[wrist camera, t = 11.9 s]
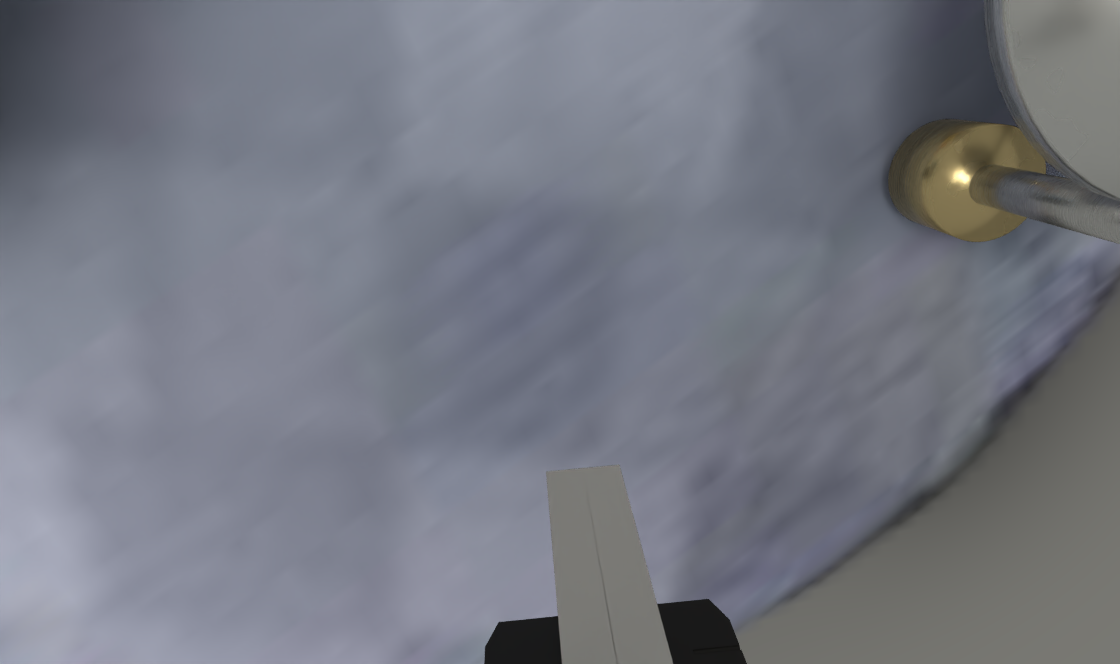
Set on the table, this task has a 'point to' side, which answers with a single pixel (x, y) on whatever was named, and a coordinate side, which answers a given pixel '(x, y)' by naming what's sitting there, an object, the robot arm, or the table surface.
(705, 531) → the table surface
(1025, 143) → the tribrach stand
